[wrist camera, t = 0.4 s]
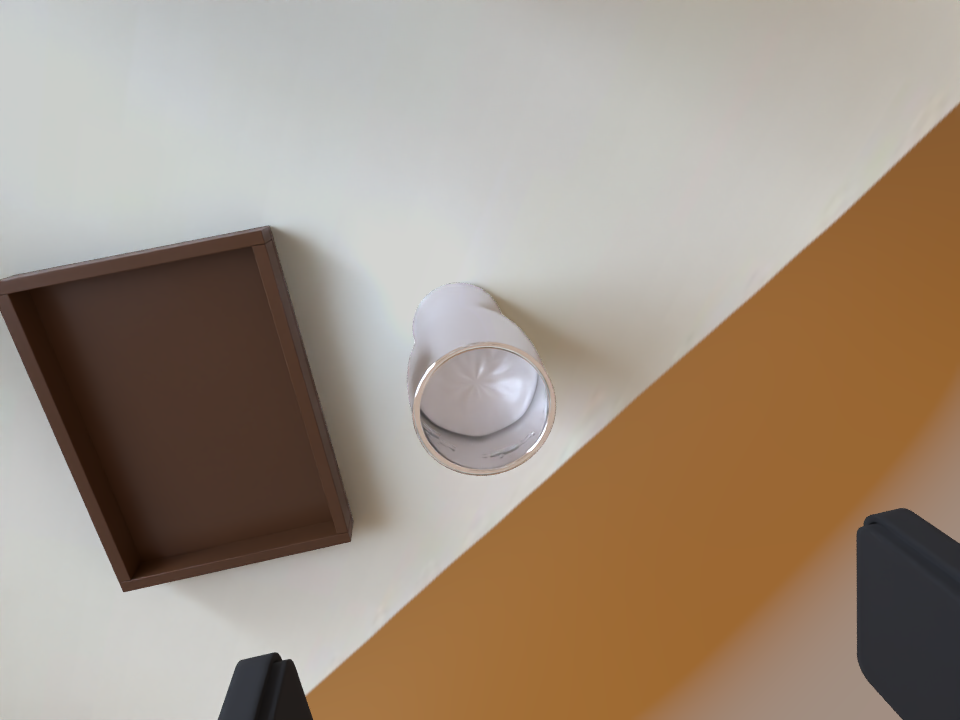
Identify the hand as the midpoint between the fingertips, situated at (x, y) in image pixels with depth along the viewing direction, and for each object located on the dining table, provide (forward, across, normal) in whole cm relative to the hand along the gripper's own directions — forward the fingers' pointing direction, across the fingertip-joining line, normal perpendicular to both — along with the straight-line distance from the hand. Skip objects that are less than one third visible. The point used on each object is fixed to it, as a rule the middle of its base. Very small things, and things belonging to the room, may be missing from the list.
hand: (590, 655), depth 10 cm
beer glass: (+34, 0, +3) cm, 34 cm away
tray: (+34, +18, +5) cm, 39 cm away
